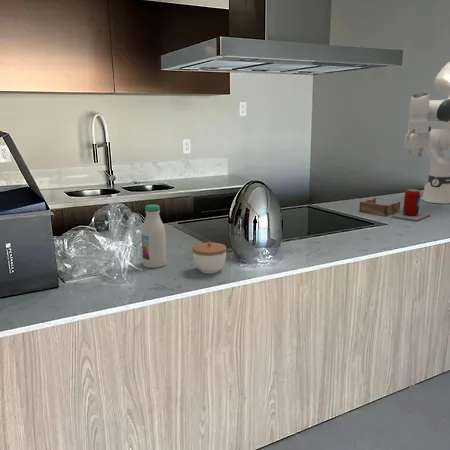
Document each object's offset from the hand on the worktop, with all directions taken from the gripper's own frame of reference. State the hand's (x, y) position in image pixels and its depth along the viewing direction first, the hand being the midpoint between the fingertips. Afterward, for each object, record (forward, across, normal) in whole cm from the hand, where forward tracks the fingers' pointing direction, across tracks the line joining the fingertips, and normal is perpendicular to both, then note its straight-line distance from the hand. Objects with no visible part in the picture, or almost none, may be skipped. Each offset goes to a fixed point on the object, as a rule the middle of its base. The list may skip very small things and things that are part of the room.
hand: (415, 158), depth 224 cm
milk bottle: (+21, -139, +26) cm, 142 cm away
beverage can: (+25, -12, -5) cm, 28 cm away
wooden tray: (+26, -12, +11) cm, 31 cm away
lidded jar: (+21, -130, +9) cm, 132 cm away
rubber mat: (+26, -12, -5) cm, 29 cm away
